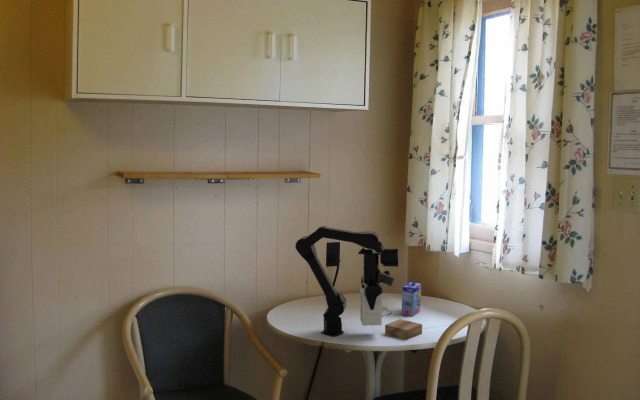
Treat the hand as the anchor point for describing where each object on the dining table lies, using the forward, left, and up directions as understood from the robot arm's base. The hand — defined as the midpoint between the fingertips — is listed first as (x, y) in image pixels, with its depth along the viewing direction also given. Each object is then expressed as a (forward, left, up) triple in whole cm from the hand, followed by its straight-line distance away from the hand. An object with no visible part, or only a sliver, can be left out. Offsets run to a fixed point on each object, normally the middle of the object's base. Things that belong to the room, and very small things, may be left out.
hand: (370, 306), depth 232 cm
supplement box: (0, 0, -6) cm, 6 cm away
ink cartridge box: (-6, +35, -11) cm, 37 cm away
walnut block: (+8, +10, -11) cm, 17 cm away
